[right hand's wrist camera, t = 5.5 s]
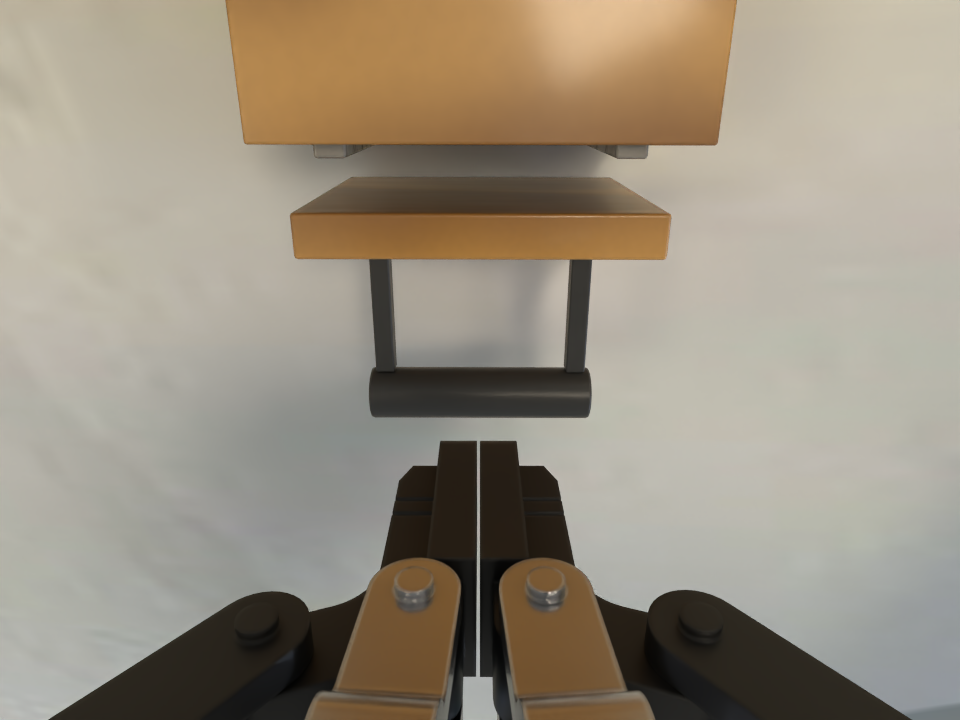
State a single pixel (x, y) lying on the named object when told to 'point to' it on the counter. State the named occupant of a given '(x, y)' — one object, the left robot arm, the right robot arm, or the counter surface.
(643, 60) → the cabinet
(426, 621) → the right robot arm
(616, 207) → the drawer
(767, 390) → the counter surface
